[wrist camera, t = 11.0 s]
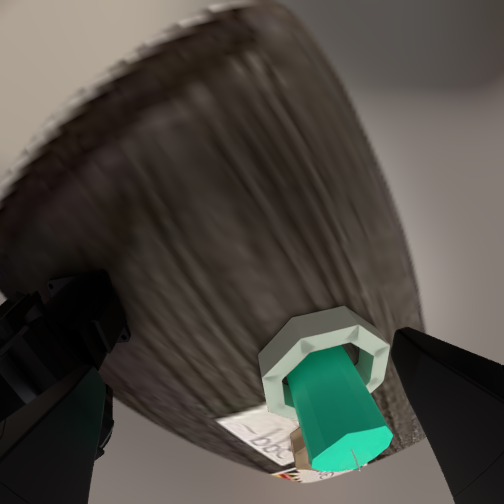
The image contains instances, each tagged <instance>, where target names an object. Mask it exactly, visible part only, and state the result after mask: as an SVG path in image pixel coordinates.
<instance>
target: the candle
mask: <svg viewBox="0 0 504 504" xmlns="http://www.w3.org/2000/svg"><path fill="white" fill-rule="evenodd" d="M286 377H287V381H288V385H289V388H290V392H291V396H292V399H293V403H294V407H295V410H296V414H297V417H298V421H299V425H300V428H301V432H302V436H303V439H304V443H305V447H306V450H307V454H308V457H309V461H310V465H311V468H313V469H316V470H319V471H331V472H339V471H345V470H351V469H357V468H358V470H359V471H361V469H360V467H361V466H362V465H364V464H365V463H367V462H368V461H370V460H372V459H373V458H375V457H376V456H377V455H378V454H380V453H381V452H382V451H383V450H385V449H386V448H387V447H388V446H389V444H390V441H391V439H392V437H393V434H392V432H391V431H390V429H389V427H388V425H387V423H386V421H385V419H384V418H383V416H382V414H381V412H380V410H379V409H378V407H377V405H376V403H375V401H374V400H373V398H372V396H371V394H370V392H369V391H368V389H367V387H366V385H365V384H364V382H363V380H362V378H361V377H360V375H359V373H358V371H357V370H356V368H355V366H354V364H353V363H352V361H351V359H350V357H349V356H348V354H347V352H346V351H345V349H344V348H343V346H342V345H338V346H334V347H330V348H326V349H322V350H318V351H313V352H310V353H309V354H308V355H307V356H306V357H305V358H304V359H303V360H302V361H301V362H300V363H299V364H298V365H297V366H296V367H295V368H294V369H293V370H291V371H290V372H289V373H288V374H287V375H286Z"/></svg>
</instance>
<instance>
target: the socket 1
mask: <svg viewBox="0 0 504 504" xmlns="http://www.w3.org/2000/svg"><path fill="white" fill-rule="evenodd" d="M290 435H291V444H292V452H293V456H294V461H295V465H296V468H298V469H306V470H314V471H319V470H316V469H313V468H311V465H310V461H309V457H308V454H307V450H306V447H305V443H304V439H303V436H302V432H301V428H300V427H299V428H298V429H297V430H295V431H294V432H293V433H291V434H290Z"/></svg>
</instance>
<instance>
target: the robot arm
mask: <svg viewBox="0 0 504 504" xmlns="http://www.w3.org/2000/svg"><path fill="white" fill-rule="evenodd" d="M100 275H102V276H103V277H104V279H102V278H101V277H100ZM51 284H52V285H53V286H52V285H51ZM47 288H48V291H49V293H50V296H51V299H50V300H49V301H48V302H47V303H46V304H45V305H44V303H43V302H42V300H41V299H40V298H41V296H40V294H39V293H38V291H35V292H34V293H32V294H31V295H30V294H29V293H28V294H27V295H24V294H22V293H20V292H18V291H17V292H16V293H15V294H13V295H12V296H11V297H10V298H9V299H7V300H6V301H5V302H4V303H3V304H1V305H0V504H88V498H89V490H90V483H91V477H92V472H93V466H94V461H95V460H96V459H98V458H99V457H101V456H102V455H103V454H104V450H103V448H104V447H105V445H106V444H107V443H108V441H109V439H110V437H111V434H112V429H113V427H114V420H113V415H112V414H113V410H112V409H113V404H112V403H113V390H112V389H111V387H110V386H109V385H108V384H105V383H104V382H103V380H102V378H101V376H100V375H99V373H98V371H99V369H100V367H101V365H102V363H103V361H104V359H105V357H106V355H107V353H111V351H112V349H113V347H114V346H115V344H116V343H121V342H128V341H129V339H130V337H131V335H130V332H129V330H128V328H127V325H126V323H127V322H126V319H125V316H124V314H123V311H122V309H121V306H120V303H119V300H118V298H117V296H116V295H115V294H114V291H113V288H112V285H111V282H110V279H109V276H108V274H107V272H106V271H105V270H96V271H91V272H85V273H80V274H75V275H69V276H64V277H59V278H53V279H50V280H49V281H48V282H47ZM123 335H125V336H126V337H124V336H123ZM391 358H392V361H393V363H394V365H395V368H396V370H397V373H398V375H399V378H400V381H401V383H402V386H403V388H404V391H405V393H406V396H407V398H408V400H409V402H410V404H411V406H412V408H413V410H414V412H415V414H416V416H417V418H418V420H419V422H420V424H421V426H422V428H423V430H424V432H425V435H426V437H427V439H428V441H429V443H430V445H431V447H432V449H433V452H434V454H435V456H436V458H437V461H438V463H439V465H440V467H441V469H442V472H443V474H444V477H445V479H446V482H447V484H448V486H449V489H450V491H451V494H452V496H453V500H454V502H455V504H504V365H501V364H499V363H497V362H494V361H492V360H489V359H487V358H484V357H482V356H479V355H477V354H474V353H471V352H469V351H467V350H464V349H462V348H459V347H457V346H454V345H452V344H449V343H447V342H444V341H442V340H440V339H437V338H435V337H432V336H430V335H427V334H425V333H422V332H420V331H418V330H415V329H413V328H410V327H404V328H401V329H398V330H396V332H395V334H394V338H393V343H392V348H391Z"/></svg>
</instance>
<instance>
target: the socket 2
mask: <svg viewBox="0 0 504 504" xmlns="http://www.w3.org/2000/svg"><path fill="white" fill-rule="evenodd" d="M349 342H351V343H353V344H355V345H356V346H358V347H360V349H359V359H358V363H357V364H356V365H355V368H356V370H357V371H358V373H359V375H360V377H361V378H362V380H363V382H364V384H365V385H366V387H367V389H368V391H369V392H370V393H371V392H372V391H373V390H375V389H376V388H377V387H378V386H379V385H380V384H381V383H382V382H383V379H384V375H385V370H386V365H387V360H388V354H389V348H390V345H389V344H388V342H387V341H386V340H385V339H384V337H383V336H382V335H381V334H380V332H379V331H378V330H377V329H376V327H374V326H373V325H371V324H370V323H368V322H367V321H366V320H364V319H363V318H361V317H360V316H358V315H357V314H356V313H354V312H353V311H351V310H350V309H348V308H347V307H346V306H341V307H337V308H333V309H328V310H324V311H319V312H315V313H310V314H305V315H301V316H296V317H292V318H291V319H290V320H289V321H288V322H287V323H286V325H285V326H284V327H283V328H282V329H281V330H280V331H279V332H278V333H277V335H276V336H275V337H274V338H273V339H272V340H271V341H270V342H269V343H268V344H267V345H266V346H265V348H264V349H263V350H262V351H261V352H260V353H259V354H258V359H259V365H260V371H261V377H262V381H263V386H264V391H265V396H266V402H267V407H268V412H271V413H274V414H277V415H280V416H283V417H286V418H289V419H292V420H295V421H298V417H297V414H296V410H295V407H294V403H293V399H292V396H291V392H290V388H289V386H288V385H286V384H283V383H282V379H283V378H284V377H285V376H286V375H287V374H288V373H289V372H290V371H291V370H293V369H294V368H295V367H296V366H297V365H298V364H299V363H300V362H301V361H302V360H303V359H304V358H305V357H306V356H307V355H308V354H309V353H310V352H313V351H318V350H322V349H326V348H330V347H334V346H338V345H342V344H345V343H349ZM298 422H299V421H298Z"/></svg>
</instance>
